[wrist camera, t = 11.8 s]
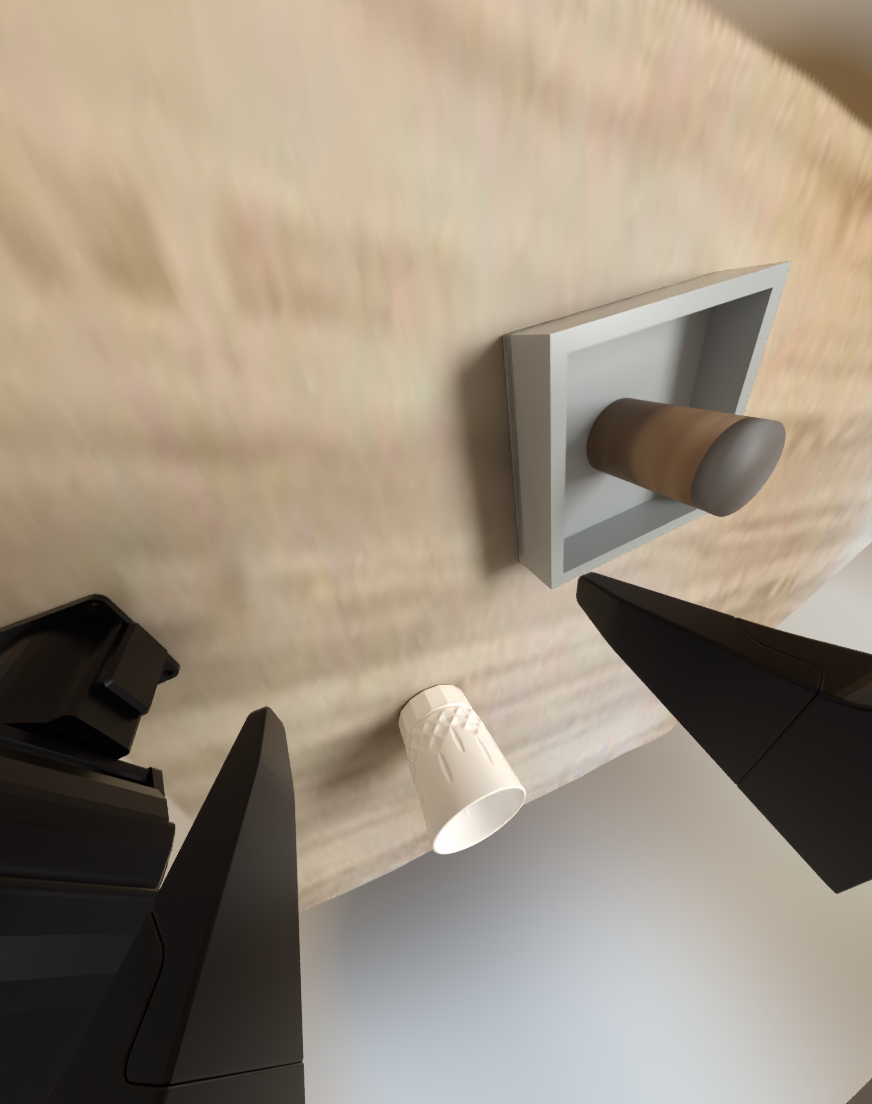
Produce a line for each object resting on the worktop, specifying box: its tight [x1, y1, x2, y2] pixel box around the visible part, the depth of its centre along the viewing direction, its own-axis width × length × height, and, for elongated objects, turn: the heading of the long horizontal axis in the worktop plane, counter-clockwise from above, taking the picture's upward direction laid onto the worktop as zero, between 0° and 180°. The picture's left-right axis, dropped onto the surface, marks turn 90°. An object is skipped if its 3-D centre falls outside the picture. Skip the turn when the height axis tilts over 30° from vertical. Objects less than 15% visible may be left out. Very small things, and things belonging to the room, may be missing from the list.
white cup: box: [398, 685, 526, 854], centre depth 30 cm, size 8×8×10 cm
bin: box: [503, 261, 792, 589], centre depth 24 cm, size 16×16×4 cm
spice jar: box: [587, 398, 785, 517], centre depth 21 cm, size 5×5×8 cm
